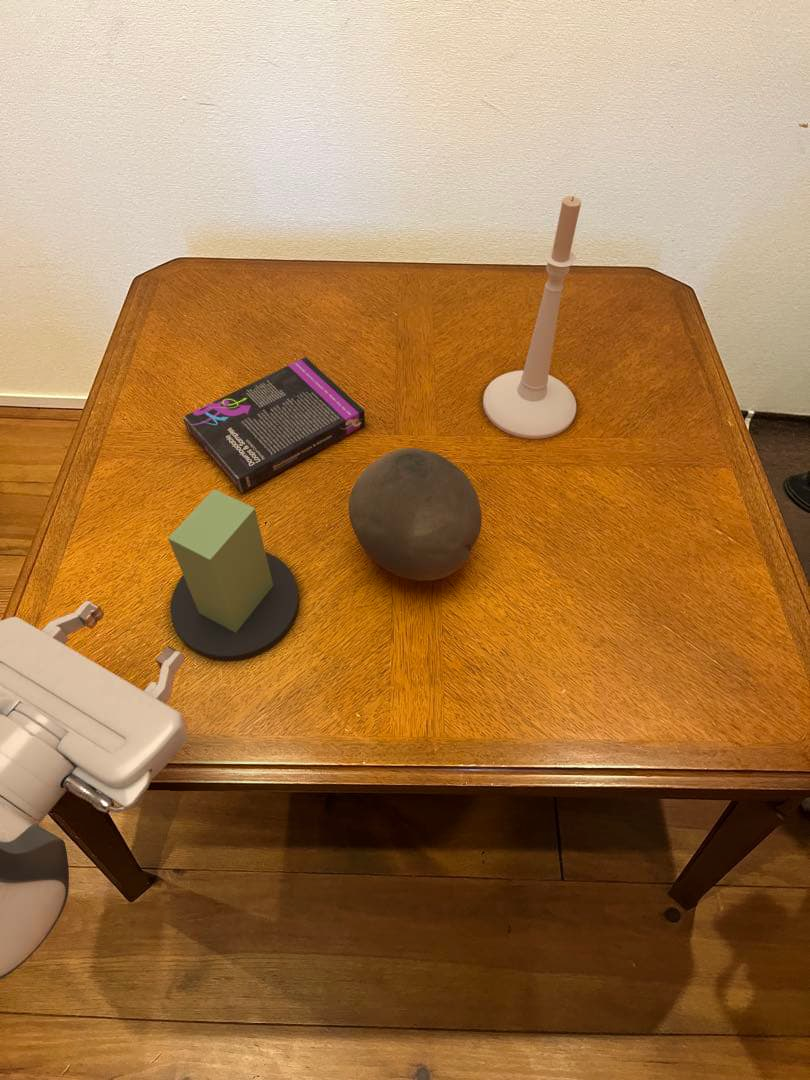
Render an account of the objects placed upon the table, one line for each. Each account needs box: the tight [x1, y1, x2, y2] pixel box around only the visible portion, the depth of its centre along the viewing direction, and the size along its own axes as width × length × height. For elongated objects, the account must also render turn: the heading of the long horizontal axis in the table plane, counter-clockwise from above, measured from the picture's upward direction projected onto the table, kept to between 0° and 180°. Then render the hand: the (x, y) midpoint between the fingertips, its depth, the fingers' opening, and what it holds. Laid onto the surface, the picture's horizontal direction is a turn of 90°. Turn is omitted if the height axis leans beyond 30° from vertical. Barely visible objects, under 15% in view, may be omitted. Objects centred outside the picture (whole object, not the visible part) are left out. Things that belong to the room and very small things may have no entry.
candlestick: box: [482, 195, 582, 440], centre depth 90 cm, size 13×13×30 cm
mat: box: [170, 551, 300, 662], centre depth 82 cm, size 14×14×1 cm
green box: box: [167, 488, 273, 633], centre depth 76 cm, size 5×7×14 cm
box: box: [182, 356, 366, 494], centre depth 97 cm, size 14×4×20 cm
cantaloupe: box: [348, 447, 483, 581], centre depth 81 cm, size 14×14×15 cm
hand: (136, 629), depth 67 cm, fingers open, 8 cm apart
